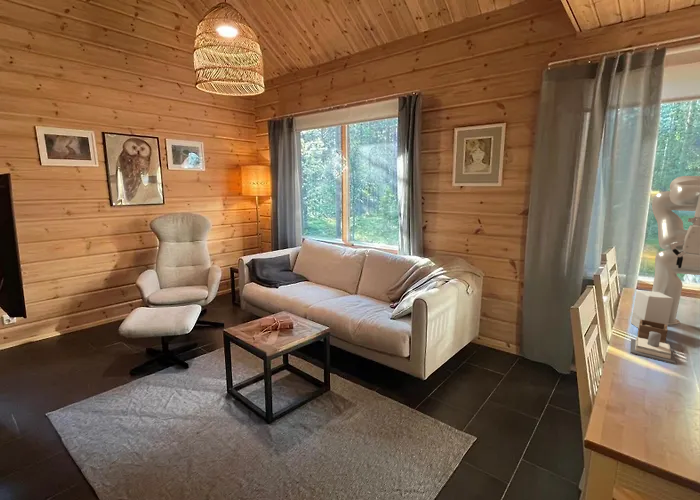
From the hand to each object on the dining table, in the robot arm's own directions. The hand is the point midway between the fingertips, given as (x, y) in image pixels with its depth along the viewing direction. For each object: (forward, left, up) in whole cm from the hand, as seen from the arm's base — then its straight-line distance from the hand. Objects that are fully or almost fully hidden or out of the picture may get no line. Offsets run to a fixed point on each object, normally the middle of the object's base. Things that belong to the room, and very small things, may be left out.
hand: (697, 269), depth 130 cm
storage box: (-3, -9, -29) cm, 31 cm away
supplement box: (-15, -3, -29) cm, 33 cm away
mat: (+9, -15, -29) cm, 34 cm away
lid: (+9, -15, -29) cm, 33 cm away
